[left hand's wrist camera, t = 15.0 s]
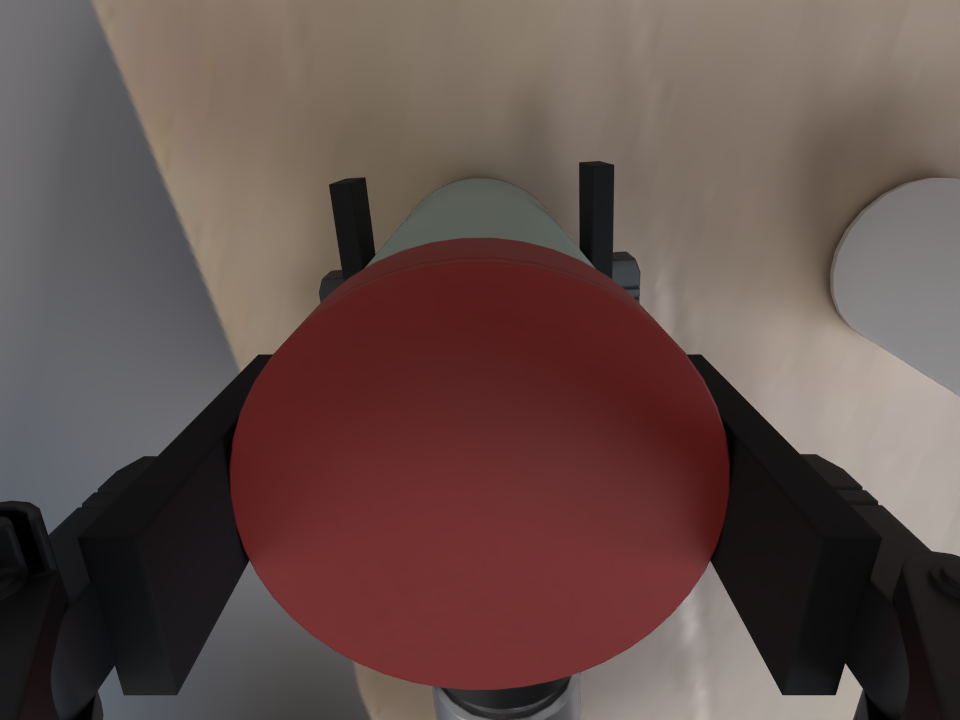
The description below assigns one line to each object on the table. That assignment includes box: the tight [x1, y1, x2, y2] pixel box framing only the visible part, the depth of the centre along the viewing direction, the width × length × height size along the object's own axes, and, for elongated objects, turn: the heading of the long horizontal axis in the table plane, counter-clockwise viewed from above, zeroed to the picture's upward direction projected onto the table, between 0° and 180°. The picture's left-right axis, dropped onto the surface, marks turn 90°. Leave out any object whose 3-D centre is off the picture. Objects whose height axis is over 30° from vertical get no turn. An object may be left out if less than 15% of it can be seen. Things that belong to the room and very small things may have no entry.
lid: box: [229, 238, 730, 690], centre depth 11 cm, size 9×9×2 cm
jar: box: [364, 178, 596, 269], centre depth 20 cm, size 8×8×20 cm
